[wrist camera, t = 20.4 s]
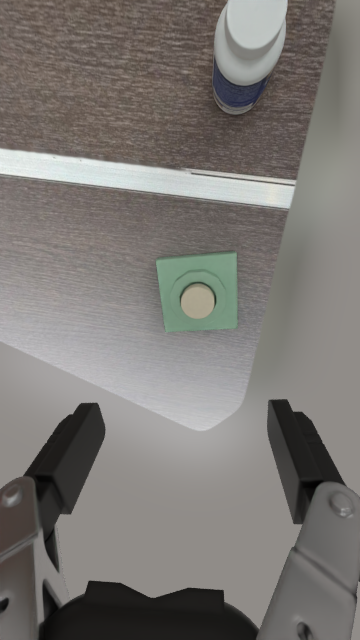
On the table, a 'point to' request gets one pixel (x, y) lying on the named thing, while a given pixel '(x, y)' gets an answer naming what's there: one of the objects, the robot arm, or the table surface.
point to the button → (197, 301)
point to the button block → (199, 269)
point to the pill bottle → (246, 51)
